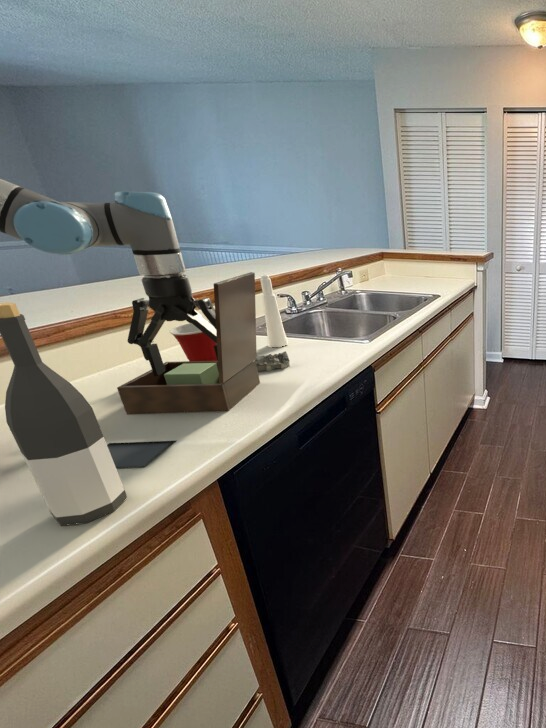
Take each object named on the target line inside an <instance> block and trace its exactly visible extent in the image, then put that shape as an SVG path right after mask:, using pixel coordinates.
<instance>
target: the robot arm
mask: <svg viewBox="0 0 546 728" xmlns="http://www.w3.org/2000/svg"><path fill="white" fill-rule="evenodd" d="M0 233H3V234H6V235H8V236H10V237H13V238H16V239H19V240H21V241H24V242H25V243H26V244H27V245H29V246H30V247H32V248H34V249H36V250H38V251H41V252H44V253H47V254H54V255H71V254H76V253H77V254H78V253H80V252H83V250H85V249H89V248H91V247H104V246H105V247H106V246H107V247H109V246H130V248H131V251H132V252H131V253H132V255H133V258H134V261H135V264H136V268H137V271H138V274H139V275H140V276H143V277H142V278H141V283H142V286H143V289H144V291H145V292H144V293H145V295H146V296H147V297H148V299H146V298H144V297H141V298H137V299H134V300H131V304H132V305H131V306H132V309H133V312H132V317H131V322H130V327H129V331H128V335H127V340H126V341H127V343H128V344H130V345H137V346H138V347H140V349H141V352H142V355H143V358H144V359H145V361H148V362H149V365H150V369H151V370H152V371H153V374H154V376H159V375H160V374H162V373H164V372H166V370H165V367H164V364H163V363H164V362H163V358H162V355H161V352H160V349H159V346H158V343H154V342H155V341H154V339H155V338H156V336H157V335H158V333H159V332H160V330H161V329H162V327H163V325H164V324H165V322H173V321H174V322H175V321H176V322H184V321H186V322H187V323H188V324H189V323H192V324H193V325H194V326H196V327H197V328H198V329H199V330H201V331H202V332H203V333H204V334H206V335H207V336H208V337H209V338H211V339H212V340H213V341H214V342H216V343H217V335H216V318H215V307H214V305H213V302H212V300H211V298H209V297H204V298H201V299H195V298H194V297H193V294H192V291H193V290H192V286H191V284H190V279H189V276H187V274H185V273H186V272H187V270H186V266H185V262H184V259H183V255H182V251H181V248H180V243H179V240H178V236H177V232H176V228H175V225H174V220H173V217H172V215H171V211H170V208H169V206H168V203H167V200H166V198H165V196H163V194H160V193H159V192H153V191H146V192H145V191H116V192H114V201H112V202H111V201H110V202H82V201H79V202H78V201H58V200H55V199H53V198H51V197H48V196H46V195H42V194H41V193H38V192H35V191H33V190H30V189H27V188H25V187H22V186H20V185H18V184H14V183H13V182H9V181H7V180H5V179H2V178H0ZM196 307H197V309H198V310H200V311H201V313H202V314H203V315H202V314H201V313H199V312H198V311H197V310H196ZM150 309H151V310H152V311H154V314H153V315H152V317H151V319H150V322H149V324H148V326H147V327H146V329H145V326H146V323H147V317H148V315H149V310H150ZM204 317H205V318H206V319H205V318H204ZM207 321H210V323H211V324H212V325H213V326H214V327H213V326H212V325H211V324H210V323H209V322H207ZM214 349H215V353H216V357H217V360H218V352H217V344H216V345H214Z"/></svg>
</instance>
